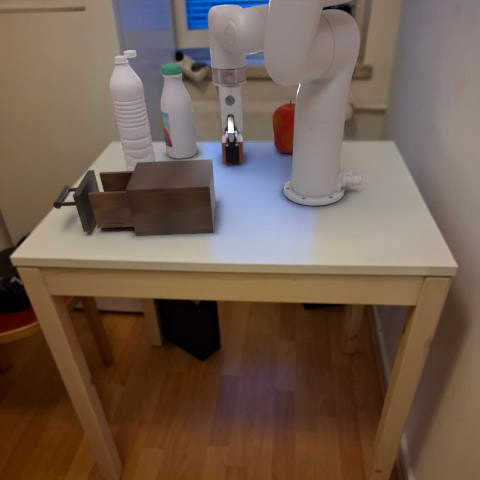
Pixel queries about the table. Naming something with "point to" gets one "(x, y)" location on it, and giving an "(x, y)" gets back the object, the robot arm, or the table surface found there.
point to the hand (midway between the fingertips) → (232, 154)
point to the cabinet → (172, 197)
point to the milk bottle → (177, 114)
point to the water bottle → (131, 112)
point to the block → (240, 143)
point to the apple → (284, 127)
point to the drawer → (100, 200)
